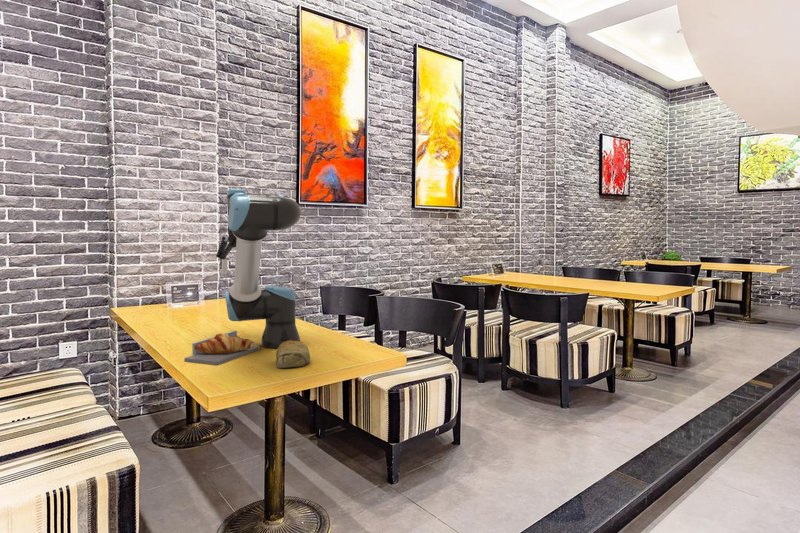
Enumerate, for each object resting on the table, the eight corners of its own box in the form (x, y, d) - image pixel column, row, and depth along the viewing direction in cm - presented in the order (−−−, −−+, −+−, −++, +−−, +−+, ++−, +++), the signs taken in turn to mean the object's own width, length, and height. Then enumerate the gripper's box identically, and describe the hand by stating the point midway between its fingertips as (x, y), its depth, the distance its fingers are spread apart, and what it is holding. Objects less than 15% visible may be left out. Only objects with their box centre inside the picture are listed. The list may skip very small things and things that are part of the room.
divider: (236, 340, 204) (236, 330, 204) (195, 354, 181) (194, 343, 181) (234, 340, 204) (234, 330, 204) (192, 354, 182) (192, 343, 182)
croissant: (254, 355, 188) (252, 335, 191) (258, 348, 180) (256, 327, 183) (194, 360, 179) (193, 339, 182) (195, 353, 171) (194, 331, 174)
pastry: (294, 356, 179) (294, 335, 179) (319, 362, 172) (319, 339, 172) (263, 365, 168) (263, 342, 167) (288, 371, 161) (288, 347, 160)
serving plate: (259, 349, 190) (259, 345, 190) (217, 365, 167) (217, 361, 167) (229, 346, 194) (229, 343, 194) (184, 361, 172) (184, 358, 172)
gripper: (267, 226, 212) (267, 275, 214) (218, 224, 219) (219, 272, 221) (256, 226, 204) (257, 277, 207) (206, 225, 212) (208, 274, 214)
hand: (237, 274), depth 214 cm, fingers open, 13 cm apart
